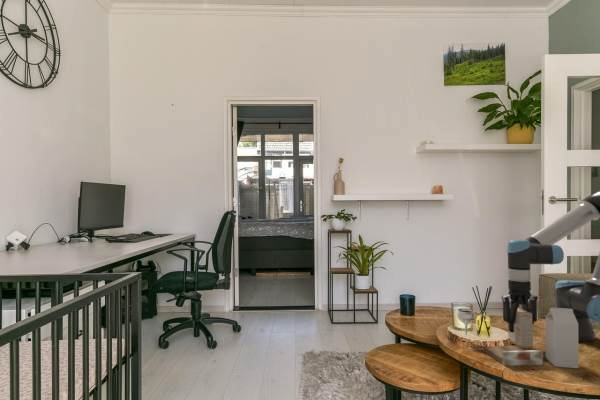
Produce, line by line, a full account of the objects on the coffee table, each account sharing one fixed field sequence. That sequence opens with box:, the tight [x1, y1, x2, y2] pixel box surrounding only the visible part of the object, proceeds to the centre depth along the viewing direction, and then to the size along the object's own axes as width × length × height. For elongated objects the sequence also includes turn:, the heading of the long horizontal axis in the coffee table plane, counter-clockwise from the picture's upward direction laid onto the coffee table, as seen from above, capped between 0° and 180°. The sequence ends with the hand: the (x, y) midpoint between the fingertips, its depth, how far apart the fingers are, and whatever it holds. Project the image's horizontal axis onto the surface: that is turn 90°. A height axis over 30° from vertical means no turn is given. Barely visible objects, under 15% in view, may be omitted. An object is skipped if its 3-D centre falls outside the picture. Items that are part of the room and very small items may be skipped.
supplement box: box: [507, 307, 534, 349], centre depth 145 cm, size 8×5×13 cm, turn 4°
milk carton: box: [545, 307, 579, 369], centre depth 129 cm, size 7×7×19 cm
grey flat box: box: [482, 344, 544, 367], centre depth 133 cm, size 14×12×4 cm
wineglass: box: [456, 307, 476, 336], centre depth 151 cm, size 7×7×12 cm
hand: (520, 340), depth 144 cm, fingers closed on supplement box, 5 cm apart
